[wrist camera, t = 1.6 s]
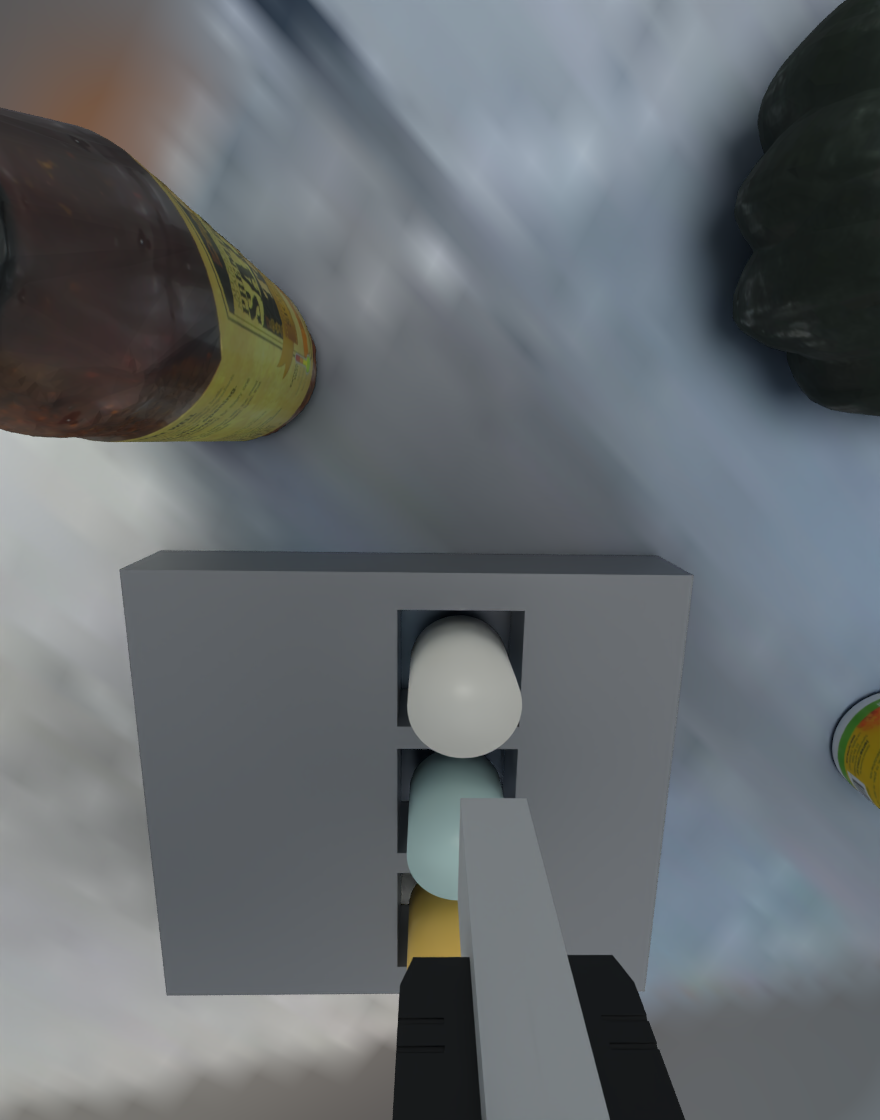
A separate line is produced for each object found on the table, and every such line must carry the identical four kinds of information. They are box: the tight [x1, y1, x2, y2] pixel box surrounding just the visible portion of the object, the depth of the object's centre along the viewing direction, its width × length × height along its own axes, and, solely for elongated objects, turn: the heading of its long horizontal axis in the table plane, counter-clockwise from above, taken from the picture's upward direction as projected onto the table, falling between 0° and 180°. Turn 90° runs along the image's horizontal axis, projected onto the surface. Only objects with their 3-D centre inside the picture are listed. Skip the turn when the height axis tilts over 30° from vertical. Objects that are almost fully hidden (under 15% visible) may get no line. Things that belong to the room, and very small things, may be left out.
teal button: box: [407, 752, 504, 900], centre depth 23 cm, size 4×4×4 cm
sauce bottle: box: [0, 108, 317, 442], centre depth 14 cm, size 6×6×20 cm
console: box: [120, 551, 694, 995], centre depth 26 cm, size 22×20×4 cm
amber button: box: [407, 883, 461, 969], centre depth 25 cm, size 4×4×4 cm
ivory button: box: [407, 615, 522, 758], centre depth 22 cm, size 4×4×4 cm
